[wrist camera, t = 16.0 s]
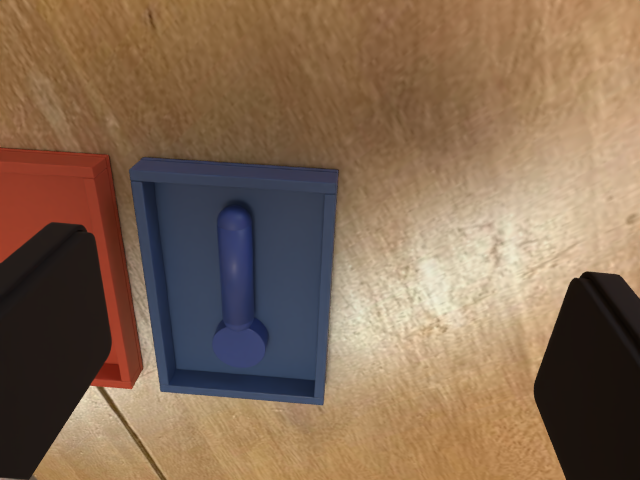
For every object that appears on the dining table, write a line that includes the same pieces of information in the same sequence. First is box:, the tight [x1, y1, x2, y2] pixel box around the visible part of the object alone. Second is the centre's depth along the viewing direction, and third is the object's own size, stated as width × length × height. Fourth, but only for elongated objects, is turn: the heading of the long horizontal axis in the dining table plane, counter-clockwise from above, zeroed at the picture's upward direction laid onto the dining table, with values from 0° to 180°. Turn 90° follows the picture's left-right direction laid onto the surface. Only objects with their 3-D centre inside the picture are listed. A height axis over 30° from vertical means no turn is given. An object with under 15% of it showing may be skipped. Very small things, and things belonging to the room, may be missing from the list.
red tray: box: [0, 148, 143, 389], centre depth 30 cm, size 15×10×2 cm
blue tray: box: [129, 157, 338, 405], centre depth 29 cm, size 15×10×2 cm
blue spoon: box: [212, 205, 269, 368], centre depth 29 cm, size 11×3×2 cm, turn 178°
